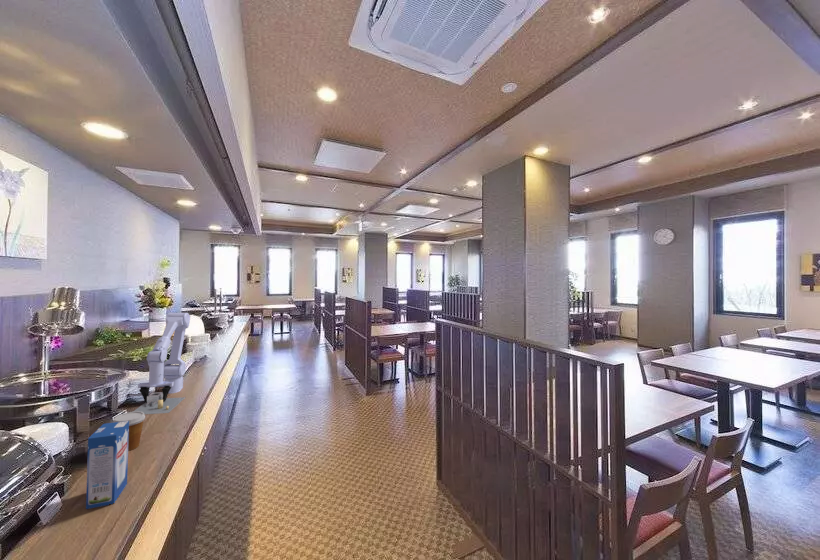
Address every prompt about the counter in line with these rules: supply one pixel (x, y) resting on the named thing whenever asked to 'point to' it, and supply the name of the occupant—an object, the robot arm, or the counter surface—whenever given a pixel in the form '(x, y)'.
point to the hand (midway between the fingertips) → (155, 401)
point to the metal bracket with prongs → (154, 398)
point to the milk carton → (107, 464)
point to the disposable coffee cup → (132, 427)
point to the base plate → (157, 411)
